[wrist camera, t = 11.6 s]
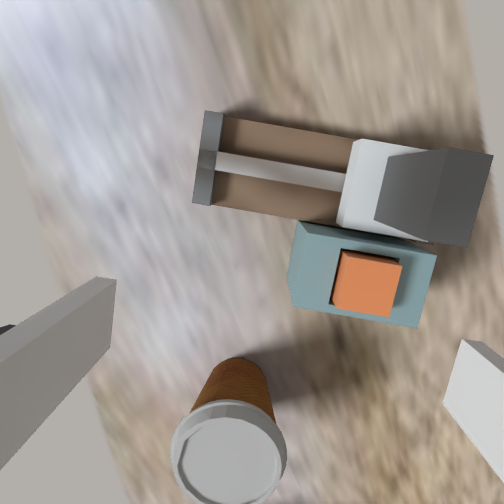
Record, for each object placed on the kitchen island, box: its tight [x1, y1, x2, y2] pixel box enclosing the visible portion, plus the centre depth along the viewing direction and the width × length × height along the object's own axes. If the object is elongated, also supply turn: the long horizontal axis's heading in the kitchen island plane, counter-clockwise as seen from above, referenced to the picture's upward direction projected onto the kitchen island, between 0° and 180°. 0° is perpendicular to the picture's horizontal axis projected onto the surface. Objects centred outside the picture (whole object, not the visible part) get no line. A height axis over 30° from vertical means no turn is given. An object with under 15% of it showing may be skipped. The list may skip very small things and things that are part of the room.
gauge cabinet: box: [287, 220, 437, 328], centre depth 34 cm, size 6×11×9 cm, turn 80°
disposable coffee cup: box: [170, 358, 287, 504], centre depth 36 cm, size 10×10×12 cm
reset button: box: [330, 248, 402, 317], centre depth 32 cm, size 4×4×7 cm
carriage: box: [336, 139, 493, 248], centre depth 27 cm, size 7×7×13 cm
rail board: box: [192, 110, 434, 245], centre depth 36 cm, size 8×22×4 cm, turn 80°
